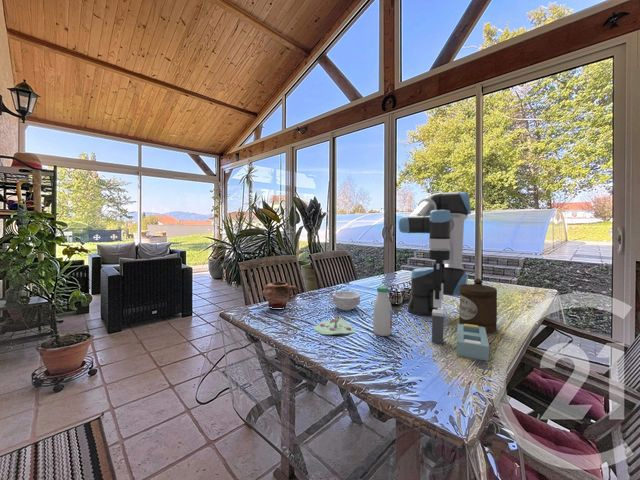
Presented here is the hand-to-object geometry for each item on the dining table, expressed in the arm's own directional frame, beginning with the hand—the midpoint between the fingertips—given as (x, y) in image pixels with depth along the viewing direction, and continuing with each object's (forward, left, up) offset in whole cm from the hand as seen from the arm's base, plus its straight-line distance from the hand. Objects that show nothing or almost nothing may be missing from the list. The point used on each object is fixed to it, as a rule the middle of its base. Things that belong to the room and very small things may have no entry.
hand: (438, 302), depth 113 cm
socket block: (+12, 0, -16) cm, 20 cm away
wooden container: (+15, +24, -16) cm, 33 cm away
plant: (-44, -1, -17) cm, 47 cm away
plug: (0, 0, -16) cm, 16 cm away
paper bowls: (-49, +26, -16) cm, 58 cm away
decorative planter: (-83, +12, -16) cm, 85 cm away
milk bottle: (-22, -1, -16) cm, 27 cm away
